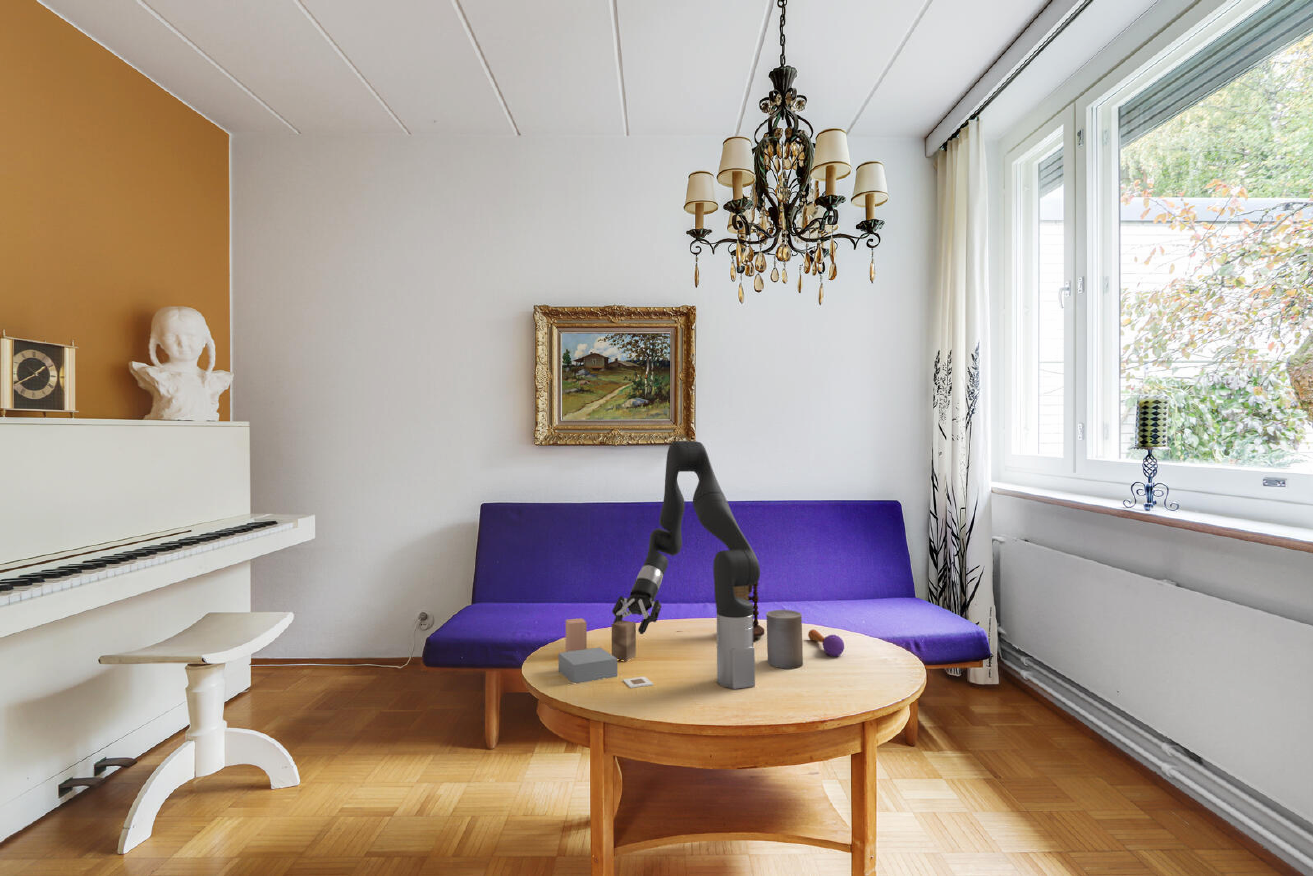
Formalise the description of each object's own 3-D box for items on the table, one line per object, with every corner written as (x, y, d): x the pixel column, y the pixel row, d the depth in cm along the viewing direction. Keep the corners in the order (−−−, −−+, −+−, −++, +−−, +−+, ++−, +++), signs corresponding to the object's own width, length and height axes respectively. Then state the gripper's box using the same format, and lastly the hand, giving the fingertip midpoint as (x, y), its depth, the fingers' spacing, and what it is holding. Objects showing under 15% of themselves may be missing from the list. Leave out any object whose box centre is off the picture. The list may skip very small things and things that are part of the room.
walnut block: (635, 657, 185) (635, 622, 186) (626, 662, 181) (626, 626, 181) (621, 655, 188) (620, 620, 188) (611, 659, 183) (611, 624, 184)
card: (653, 685, 162) (653, 683, 162) (630, 688, 160) (630, 686, 160) (645, 677, 168) (645, 676, 168) (623, 680, 165) (623, 679, 165)
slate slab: (617, 678, 169) (617, 658, 169) (573, 685, 163) (573, 665, 163) (600, 665, 179) (600, 647, 180) (558, 671, 174) (558, 653, 174)
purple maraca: (823, 626, 204) (848, 638, 184) (821, 646, 203) (846, 660, 183) (805, 623, 203) (828, 635, 184) (802, 643, 203) (825, 656, 183)
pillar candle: (801, 658, 183) (799, 605, 184) (804, 669, 173) (803, 612, 174) (766, 658, 184) (765, 605, 185) (768, 668, 175) (766, 612, 175)
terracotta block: (586, 657, 186) (586, 622, 187) (569, 659, 184) (569, 623, 185) (582, 652, 191) (582, 618, 191) (565, 654, 189) (565, 619, 189)
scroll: (713, 641, 202) (712, 576, 203) (723, 629, 216) (722, 569, 217) (760, 645, 197) (759, 579, 198) (767, 633, 211) (766, 571, 212)
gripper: (623, 575, 198) (602, 620, 188) (663, 578, 191) (644, 626, 181) (632, 589, 203) (612, 634, 192) (672, 593, 196) (653, 641, 185)
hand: (627, 630), depth 187 cm, fingers open, 8 cm apart
